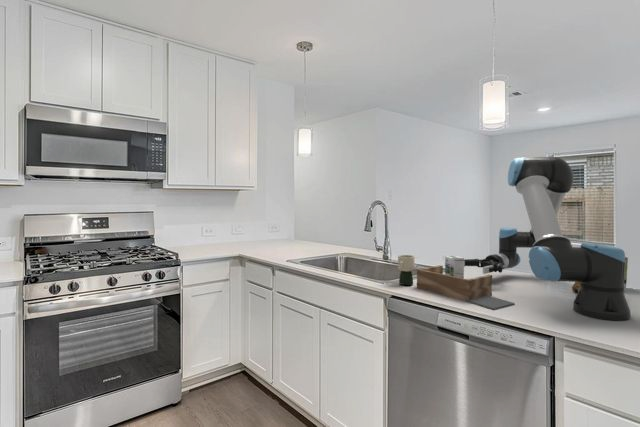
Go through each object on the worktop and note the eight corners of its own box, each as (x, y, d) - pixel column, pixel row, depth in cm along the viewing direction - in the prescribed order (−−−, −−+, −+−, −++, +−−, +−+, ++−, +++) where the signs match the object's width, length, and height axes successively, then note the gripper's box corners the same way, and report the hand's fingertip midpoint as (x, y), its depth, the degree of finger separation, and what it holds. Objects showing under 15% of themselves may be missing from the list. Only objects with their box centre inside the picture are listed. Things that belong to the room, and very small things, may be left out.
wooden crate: (439, 282, 163) (439, 265, 163) (491, 295, 143) (492, 275, 142) (416, 287, 155) (416, 269, 154) (468, 301, 134) (468, 280, 134)
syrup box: (443, 289, 151) (444, 255, 151) (456, 288, 152) (456, 255, 152) (451, 293, 146) (451, 258, 145) (464, 292, 147) (464, 257, 146)
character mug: (404, 281, 167) (404, 253, 166) (418, 283, 162) (418, 255, 161) (393, 285, 158) (393, 256, 158) (407, 288, 154) (407, 258, 153)
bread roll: (603, 306, 138) (614, 289, 137) (577, 294, 140) (587, 276, 139) (589, 299, 148) (599, 282, 147) (565, 288, 149) (574, 271, 148)
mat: (514, 304, 130) (514, 303, 130) (493, 310, 124) (493, 308, 124) (485, 296, 140) (485, 295, 140) (464, 301, 135) (464, 299, 135)
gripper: (523, 275, 156) (496, 282, 144) (471, 265, 177) (444, 271, 165) (523, 258, 156) (496, 263, 144) (472, 251, 176) (444, 255, 165)
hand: (468, 267), depth 154 cm, fingers open, 13 cm apart
